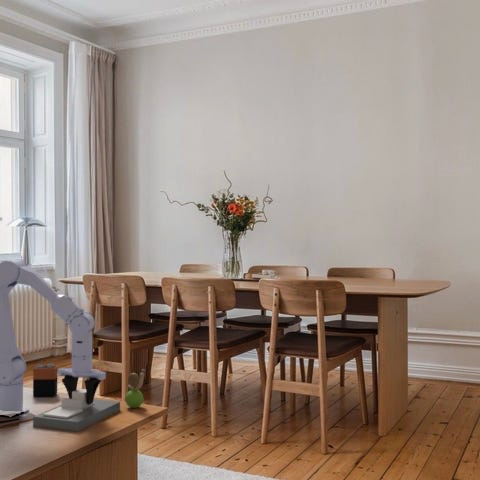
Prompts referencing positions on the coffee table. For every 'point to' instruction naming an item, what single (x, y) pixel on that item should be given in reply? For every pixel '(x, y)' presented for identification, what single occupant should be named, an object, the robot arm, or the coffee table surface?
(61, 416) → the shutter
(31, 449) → the coffee table surface
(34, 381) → the battery
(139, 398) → the snail figurine
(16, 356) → the robot arm
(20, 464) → the coffee table surface
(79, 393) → the plug
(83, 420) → the socket plate
